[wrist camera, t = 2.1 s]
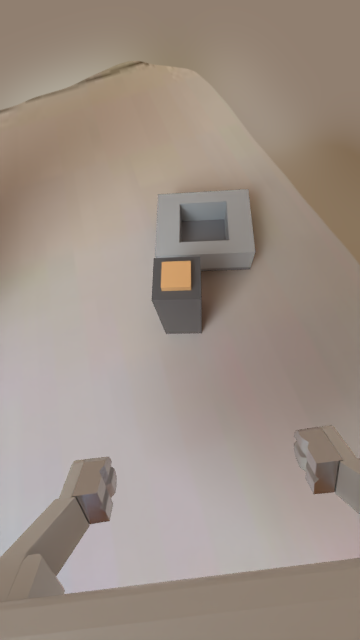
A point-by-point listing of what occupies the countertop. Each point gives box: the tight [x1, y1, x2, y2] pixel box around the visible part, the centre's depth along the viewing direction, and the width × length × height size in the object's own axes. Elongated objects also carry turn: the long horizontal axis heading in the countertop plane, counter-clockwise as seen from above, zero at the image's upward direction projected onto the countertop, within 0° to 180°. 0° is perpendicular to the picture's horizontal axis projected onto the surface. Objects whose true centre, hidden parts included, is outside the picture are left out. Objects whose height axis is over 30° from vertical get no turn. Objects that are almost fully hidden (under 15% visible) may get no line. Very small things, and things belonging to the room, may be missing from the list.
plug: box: [152, 256, 202, 334], centre depth 25 cm, size 4×4×10 cm
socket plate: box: [155, 189, 255, 271], centre depth 32 cm, size 11×9×4 cm
